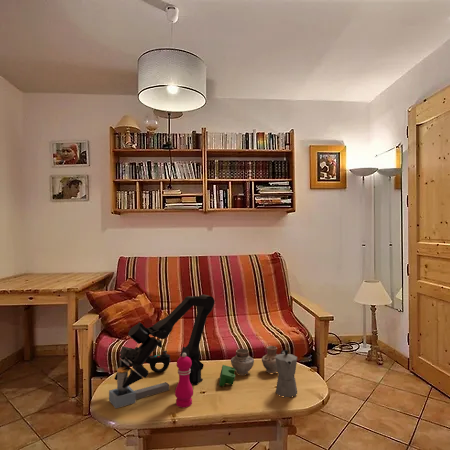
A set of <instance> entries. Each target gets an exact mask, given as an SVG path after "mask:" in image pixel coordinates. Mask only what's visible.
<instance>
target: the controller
mask: <svg viewBox="0 0 450 450" xmlns="http://www.w3.org/2000/svg"><path fill="white" fill-rule="evenodd" d="M167 352H168V351H167V350H162V354H157V355H155V354H154V355H150V356H149V357H150V359H149V360H148V359H147V360H146V361H145V362H144V363H145V364H149V367H150V369H151V371H152V372H153V373H156V374H162V373H164V372H166V370H167V369H168V368H169V366H170V363H171V354H168V353H167ZM158 363H162V364H163V366H162V367H161V368H157V366H156V365H157V364H158Z"/></svg>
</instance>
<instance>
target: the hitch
mask: <svg viewBox="0 0 450 450" xmlns="http://www.w3.org/2000/svg"><path fill="white" fill-rule="evenodd" d="M167 391H170V384H169V383H168V382H167V381H166V382H165V381H164V382H162V383H161V382H160V383H158V384H154V385H151V386H146V387H142V388H139V389H135V390H134V389H133V388H132V387H130V385H129V386H128V394H124V395H120V396H117V388H114V389H110V390H108V401H109V402H110V404H111V405H112V406H113V407H114V409H118V408H122V407H125V406H130V405H132V404H135V403H136V402H137V400H139V399H143V398H146V397H150V396H154V395H157V394H160V393H164V392H167Z"/></svg>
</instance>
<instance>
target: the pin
mask: <svg viewBox="0 0 450 450" xmlns="http://www.w3.org/2000/svg"><path fill="white" fill-rule="evenodd" d="M128 372H129V371H128V368H127V367H120V368H119V367H118V368H117V371H116V373H117V380H116V383H117V384H116V386H117V387H116V389H117V396H120V395H124V394H128V386H127V387H125V388H123V387H122V386H123V384H124V382H125V381H126V379H127V378H128V376H129V374H128Z"/></svg>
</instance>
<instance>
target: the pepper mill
mask: <svg viewBox="0 0 450 450" xmlns="http://www.w3.org/2000/svg"><path fill="white" fill-rule="evenodd" d="M191 365H192V361H191V359H190V358H189V357H187V356H186V353H183V354H182V357H181V356H180V357H179V358H177V360H176V367H177V374H178V378H179V379H178V382H177V384H176V387H175V389H174V390H175V391H174V396H175V397H176V399H175V406H177V407H178V408H188V407H190V406H192V404H193V398H192V397H193V395H194V389H193V384H191V383H190V380H189V374H190V370H191V369H190V367H191Z"/></svg>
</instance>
